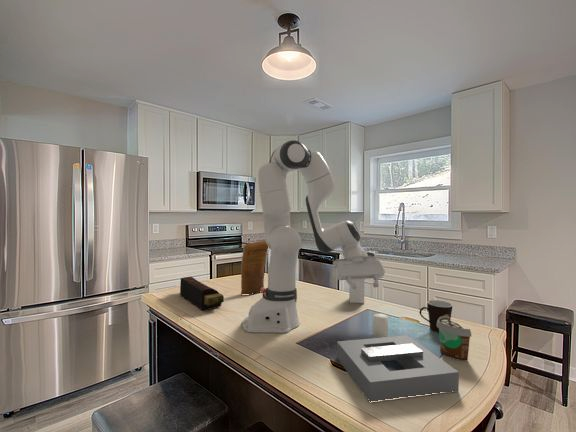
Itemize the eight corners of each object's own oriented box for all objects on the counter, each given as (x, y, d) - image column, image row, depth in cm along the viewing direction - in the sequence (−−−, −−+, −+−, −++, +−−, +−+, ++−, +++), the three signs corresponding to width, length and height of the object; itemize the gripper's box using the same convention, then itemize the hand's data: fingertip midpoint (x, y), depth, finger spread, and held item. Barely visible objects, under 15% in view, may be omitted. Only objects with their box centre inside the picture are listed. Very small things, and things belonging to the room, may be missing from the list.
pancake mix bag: (271, 290, 166) (271, 240, 165) (244, 298, 152) (244, 243, 152) (263, 288, 171) (263, 239, 170) (236, 295, 157) (236, 242, 156)
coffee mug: (449, 326, 116) (450, 301, 116) (454, 335, 108) (454, 308, 108) (417, 322, 120) (417, 298, 120) (419, 331, 112) (419, 304, 112)
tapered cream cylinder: (377, 342, 102) (377, 319, 102) (370, 336, 107) (370, 314, 107) (390, 341, 103) (390, 318, 103) (383, 335, 108) (383, 313, 108)
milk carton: (364, 303, 144) (364, 264, 144) (349, 302, 146) (349, 264, 145) (363, 299, 151) (364, 262, 151) (349, 298, 153) (349, 261, 152)
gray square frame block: (370, 403, 70) (370, 382, 70) (336, 357, 92) (336, 341, 92) (458, 391, 75) (458, 371, 75) (407, 350, 96) (407, 335, 96)
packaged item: (225, 310, 134) (225, 288, 134) (204, 314, 128) (204, 291, 128) (195, 291, 165) (195, 273, 165) (177, 294, 160) (177, 275, 159)
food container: (428, 344, 101) (428, 315, 100) (445, 344, 101) (446, 315, 101) (451, 363, 88) (452, 330, 88) (470, 363, 89) (471, 329, 89)
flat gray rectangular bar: (369, 362, 79) (369, 356, 79) (361, 353, 84) (361, 348, 84) (423, 356, 82) (423, 351, 82) (412, 348, 87) (412, 343, 87)
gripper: (333, 255, 122) (342, 284, 113) (379, 253, 126) (391, 281, 117) (330, 263, 127) (338, 293, 117) (374, 261, 131) (385, 289, 121)
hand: (365, 287), depth 117 cm, fingers open, 8 cm apart
